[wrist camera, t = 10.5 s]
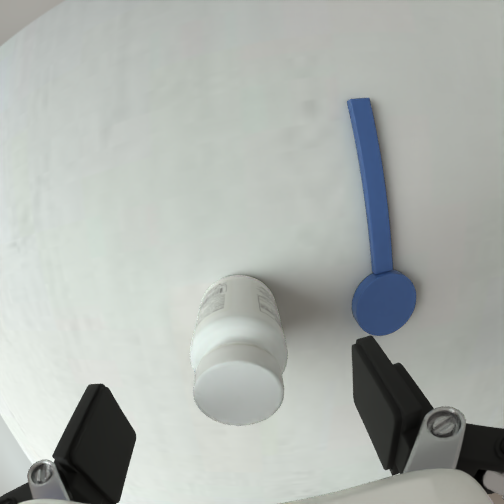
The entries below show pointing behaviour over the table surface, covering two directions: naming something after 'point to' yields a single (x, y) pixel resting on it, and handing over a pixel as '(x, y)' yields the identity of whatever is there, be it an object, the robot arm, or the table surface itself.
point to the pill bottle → (238, 352)
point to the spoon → (377, 237)
